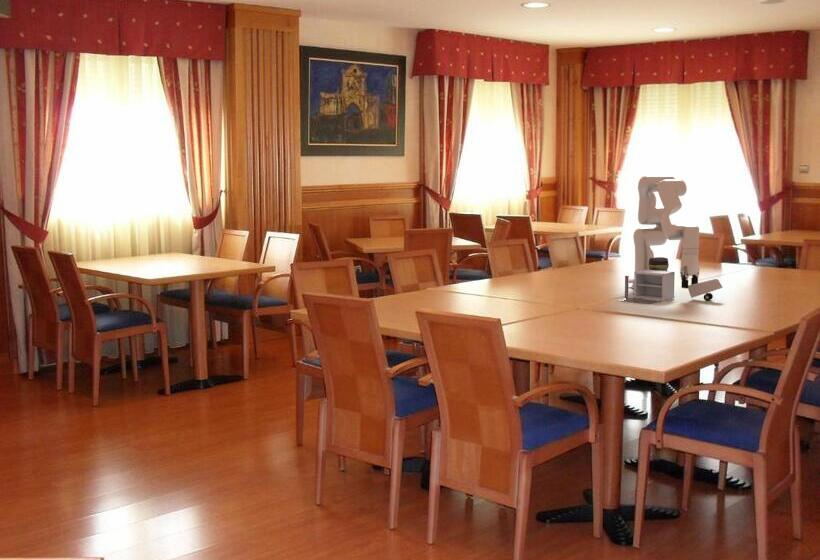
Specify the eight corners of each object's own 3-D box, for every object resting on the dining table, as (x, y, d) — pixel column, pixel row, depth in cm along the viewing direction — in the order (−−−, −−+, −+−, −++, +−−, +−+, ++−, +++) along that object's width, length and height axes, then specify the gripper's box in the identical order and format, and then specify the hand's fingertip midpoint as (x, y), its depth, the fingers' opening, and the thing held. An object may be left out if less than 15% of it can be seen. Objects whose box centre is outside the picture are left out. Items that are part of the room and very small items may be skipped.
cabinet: (634, 297, 479) (634, 271, 478) (644, 295, 487) (644, 269, 485) (663, 300, 469) (664, 273, 467) (674, 298, 476) (674, 271, 474)
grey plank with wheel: (693, 305, 470) (724, 295, 462) (686, 286, 471) (716, 275, 463) (696, 304, 473) (726, 294, 465) (689, 285, 474) (718, 275, 466)
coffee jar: (663, 293, 495) (664, 256, 493) (670, 295, 487) (671, 257, 485) (645, 293, 494) (646, 256, 491) (652, 295, 486) (652, 258, 484)
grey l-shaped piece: (615, 300, 471) (615, 277, 470) (627, 298, 479) (627, 275, 478) (649, 304, 459) (649, 280, 457) (661, 301, 467) (661, 278, 465)
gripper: (691, 249, 478) (691, 284, 481) (674, 252, 466) (673, 288, 468) (706, 250, 473) (705, 285, 476) (689, 253, 461) (688, 289, 463)
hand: (689, 287), depth 472 cm, fingers open, 9 cm apart
